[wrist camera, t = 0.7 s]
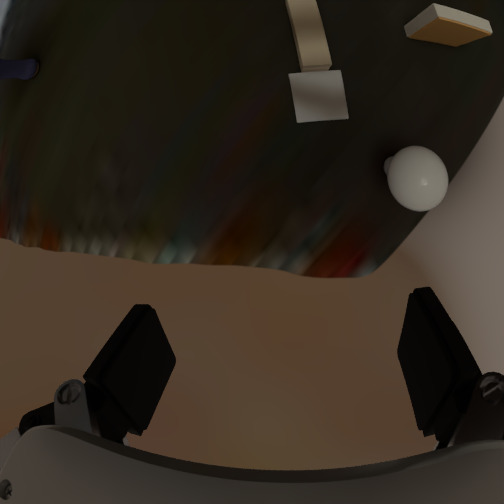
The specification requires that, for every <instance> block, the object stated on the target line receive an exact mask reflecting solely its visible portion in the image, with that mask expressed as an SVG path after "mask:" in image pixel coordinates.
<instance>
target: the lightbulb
mask: <svg viewBox="0 0 504 504" xmlns="http://www.w3.org/2000/svg"><path fill="white" fill-rule="evenodd" d="M384 171H385V173H386V175H387V180H388V185H389V188H390V191H391V193H392V195H393V196H394V198H395V199H396V200H397V201H398V202H399V203H400V204H401V205H402V206H404V207H406V208H408V209H410V210H413V211H427V210H430V209H432V208H434V207H436V206H437V205H438V204H439V203H440V202H441V201H442V200H443V198H444V197H445V195H446V192H447V188H448V174H447V170H446V167H445V165H444V163H443V162H442V160H441V159H440V158H439V156H438V155H437V154H435V153H434V152H433V151H431V150H430V149H428V148H425V147H422V146H409V147H405V148H403V149H401V150H400V151H398V152H397V153H396V154H395V155H394V156H392V157H389V158H387V159H386V161H385V163H384Z"/></svg>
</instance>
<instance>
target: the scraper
mask: <svg viewBox="0 0 504 504" xmlns="http://www.w3.org/2000/svg"><path fill="white" fill-rule="evenodd" d="M285 1H286V7H287V11H288V15H289V19H290V23H291V27H292V31H293V36H294V40H295V44H296V49H297V54H298V58H299V63H300V68H301V73H293V74H289V79H290V84H291V90H292V95H293V101H294V107H295V113H296V119H297V123H301V122H311V121H323V120H337V119H349V117H348V110H347V104H346V97H345V92H344V86H343V81H342V75H341V70H332V71H328V70H329V68H330V66H331V65H332V62H331V58H330V53H329V49H328V44H327V40H326V36H325V32H324V28H323V24H322V21H321V17H320V13H319V10H318V6H317V3H316V0H285Z"/></svg>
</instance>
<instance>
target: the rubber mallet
mask: <svg viewBox="0 0 504 504" xmlns="http://www.w3.org/2000/svg"><path fill="white" fill-rule="evenodd" d="M38 69H39V63H38V62H37V61H36V60H35V59H27V60H5V59H0V79H6V78H20V79H23V80H27V79H30V78H32V77H34V76H35V75H36V74H37V72H38Z"/></svg>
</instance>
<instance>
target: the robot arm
mask: <svg viewBox="0 0 504 504" xmlns="http://www.w3.org/2000/svg"><path fill="white" fill-rule="evenodd" d="M397 354H398V359H399V361H400V365H401V368H402V371H403V375H404V378H405V381H406V385H407V388H408V392H409V395H410V399H411V402H412V406H413V410H414V414H415V418H416V422H417V426H418V429H419V430H423V434H424V437H426V436H430V435H433V434H435V437H436V440H437V443H436V445H435V447H434V448H433V450H432V451H430V452H427V453H423V454H419V455H415V456H411V457H407V458H401V459H397V460H392V461H386V462H380V463H375V464H368V465H361V466H355V467H346V468H335V469H321V470H289V471H288V470H256V469H243V468H233V467H232V468H231V467H224V466H216V465H208V464H203V463H197V462H191V461H186V460H180V459H176V458H171V457H167V456H162V455H158V454H154V453H150V452H146V451H143V450H139V449H136V448H133V447H130V446H129V443H128V441H127V437H126V434H127V432H129V433H131V434H135V435H139V436H141V435H142V433H143V430H146V429H147V427H148V425H149V423H150V420H151V418H152V416H153V414H154V412H155V409H156V407H157V405H158V402H159V400H160V398H161V396H162V393H163V391H164V389H165V387H166V384H167V382H168V380H169V377H170V375H171V373H172V371H173V369H174V366H175V363H176V358H175V355H174V353H173V351H172V348H171V346H170V344H169V342H168V339H167V337H166V335H165V333H164V330H163V328H162V326H161V323H160V321H159V318H158V316H157V314H156V311H155V309H153V308H152V307H151V306H150V305H148V304H136V305H134V306H133V308H132V309H131V310H130V311H129V313H128V314H127V315H126V317H125V318H124V319H123V321H122V322H121V323H120V325H119V326H118V327H117V329H116V330H115V331H114V333H113V335H111V337H110V338H109V340H108V341H107V343H106V344H105V345H104V347H103V348H102V349H101V351H100V352H99V354H98V355H97V356H96V358H95V359H94V361H93V362H92V364H91V365H90V367H89V368H88V369H87V371H86V372H85V374H84V375H83V378H84V379H85V381H86V382H85V384H83V383H82V382H81V381H80V380H77V379H72V380H68V381H66V382H64V383H63V384H61V385H60V386H59V388H58V389H57V390H56V392H55V396H54V402H52V403H50V404H47V405H45V406H42V407H40V408H38V409H35V410H33V411H30V412H28V413H27V414H25V415H24V416H23V417H22V419H21V421H20V424H19V428H18V427H16V428H15V429H14V430H12V431H11V432H10V433H9V434H7V435H5V436H4V437H3V438H1V439H0V504H504V375H502V374H500V373H497V372H487V373H485V374H483V375H482V373H481V371H480V369H479V367H478V365H477V363H476V361H475V359H474V357H473V356H472V354H471V352H470V350H469V348H468V346H467V344H466V342H465V341H464V339H463V337H462V335H461V334H460V332H459V330H458V329H457V327H456V325H455V324H454V322H453V321H452V320H451V318H450V317H449V315H448V314H447V312H446V311H445V309H444V307H443V306H442V304H441V302H440V301H439V299H438V298H437V296H436V295H435V293H434V292H433V290H432V289H431V288H430V287H423V288H416V289H414V291H413V293H410V294H409V298H408V303H407V309H406V314H405V319H404V323H403V328H402V333H401V336H400V341H399V345H398V350H397Z"/></svg>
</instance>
